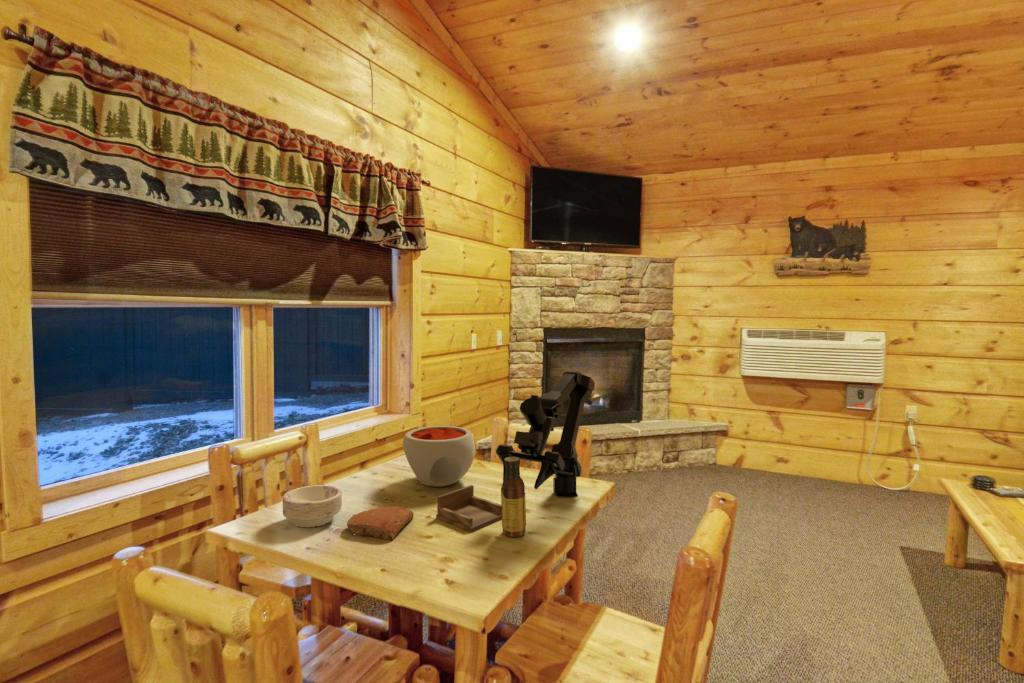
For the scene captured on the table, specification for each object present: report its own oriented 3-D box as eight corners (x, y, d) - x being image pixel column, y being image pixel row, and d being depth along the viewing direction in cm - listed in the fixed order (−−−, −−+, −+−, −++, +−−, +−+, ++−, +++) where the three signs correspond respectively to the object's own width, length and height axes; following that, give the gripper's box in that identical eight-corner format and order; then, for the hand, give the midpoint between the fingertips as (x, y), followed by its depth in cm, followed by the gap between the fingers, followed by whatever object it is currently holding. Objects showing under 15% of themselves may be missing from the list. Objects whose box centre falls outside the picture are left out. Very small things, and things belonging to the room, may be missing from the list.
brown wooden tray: (507, 516, 151) (507, 495, 150) (471, 532, 140) (471, 509, 140) (472, 504, 160) (472, 484, 160) (436, 518, 150) (435, 496, 149)
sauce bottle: (511, 526, 144) (510, 453, 143) (530, 531, 140) (530, 456, 139) (496, 535, 139) (495, 459, 137) (516, 540, 135) (515, 463, 134)
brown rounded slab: (366, 497, 152) (416, 508, 149) (362, 519, 152) (412, 531, 149) (341, 509, 138) (395, 522, 135) (336, 534, 137) (391, 548, 135)
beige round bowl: (353, 514, 152) (352, 486, 152) (318, 536, 138) (318, 506, 137) (308, 508, 157) (307, 481, 157) (270, 528, 143) (269, 499, 142)
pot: (488, 477, 185) (487, 426, 183) (449, 500, 163) (448, 442, 162) (430, 468, 195) (430, 419, 194) (386, 488, 174) (386, 433, 173)
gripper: (498, 415, 150) (477, 464, 141) (560, 422, 141) (542, 475, 132) (512, 437, 157) (493, 485, 148) (572, 445, 148) (555, 497, 139)
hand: (519, 485), depth 141 cm, fingers open, 9 cm apart
